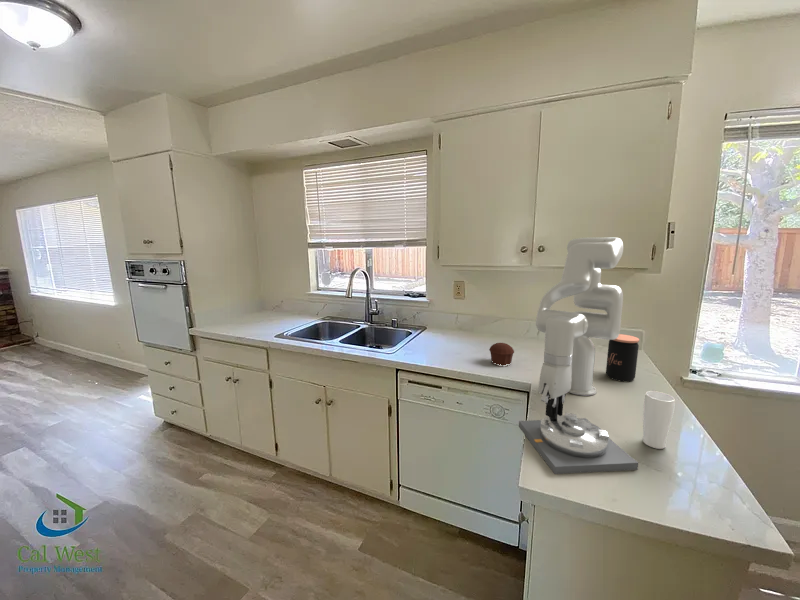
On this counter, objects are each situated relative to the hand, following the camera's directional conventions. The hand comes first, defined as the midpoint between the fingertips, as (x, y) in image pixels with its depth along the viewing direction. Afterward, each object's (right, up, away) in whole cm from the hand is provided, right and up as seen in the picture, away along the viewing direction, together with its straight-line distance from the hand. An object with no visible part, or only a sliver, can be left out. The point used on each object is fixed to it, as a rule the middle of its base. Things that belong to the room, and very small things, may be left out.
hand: (553, 415), depth 100 cm
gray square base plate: (+3, -7, -5) cm, 9 cm away
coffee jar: (+49, +1, +43) cm, 65 cm away
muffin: (+3, +4, +61) cm, 61 cm away
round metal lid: (+3, -5, -6) cm, 8 cm away
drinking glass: (+27, -7, -5) cm, 28 cm away
